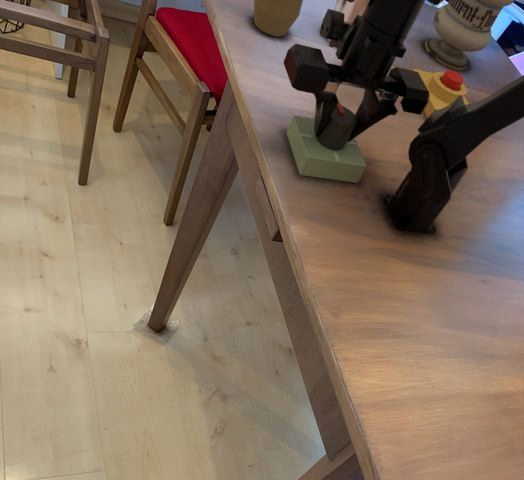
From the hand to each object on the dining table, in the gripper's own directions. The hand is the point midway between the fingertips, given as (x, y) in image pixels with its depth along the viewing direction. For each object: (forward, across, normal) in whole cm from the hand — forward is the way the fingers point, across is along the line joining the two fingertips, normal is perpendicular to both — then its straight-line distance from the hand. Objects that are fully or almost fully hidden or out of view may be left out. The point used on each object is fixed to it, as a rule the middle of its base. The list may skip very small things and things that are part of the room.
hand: (331, 137), depth 77 cm
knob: (0, 0, 0) cm, 0 cm away
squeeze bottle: (+4, +1, -34) cm, 34 cm away
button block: (+4, -29, -21) cm, 36 cm away
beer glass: (+4, -13, -36) cm, 38 cm away
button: (0, -29, -21) cm, 36 cm away
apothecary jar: (+4, -39, -40) cm, 56 cm away
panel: (+4, 0, 0) cm, 4 cm away
